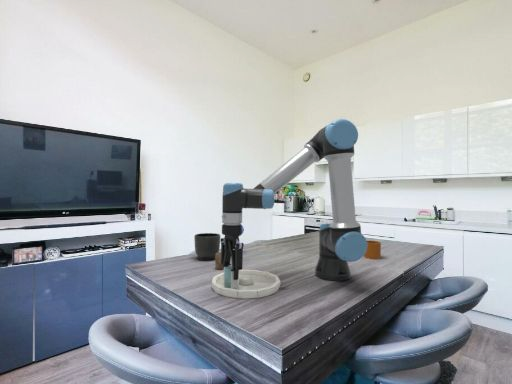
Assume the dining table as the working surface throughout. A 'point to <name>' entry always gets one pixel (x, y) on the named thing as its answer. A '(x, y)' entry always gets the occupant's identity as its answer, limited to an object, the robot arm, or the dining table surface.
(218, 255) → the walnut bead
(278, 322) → the dining table surface
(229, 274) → the teal cylinder
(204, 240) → the planter
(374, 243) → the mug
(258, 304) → the dining table surface
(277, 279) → the round cream tray
